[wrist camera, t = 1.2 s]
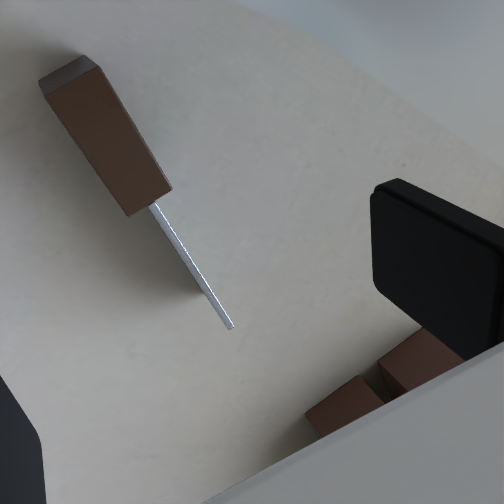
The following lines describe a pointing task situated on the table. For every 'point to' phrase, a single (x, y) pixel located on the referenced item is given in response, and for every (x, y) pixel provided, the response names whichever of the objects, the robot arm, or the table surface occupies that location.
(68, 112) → the knife
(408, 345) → the cake
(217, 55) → the table surface
